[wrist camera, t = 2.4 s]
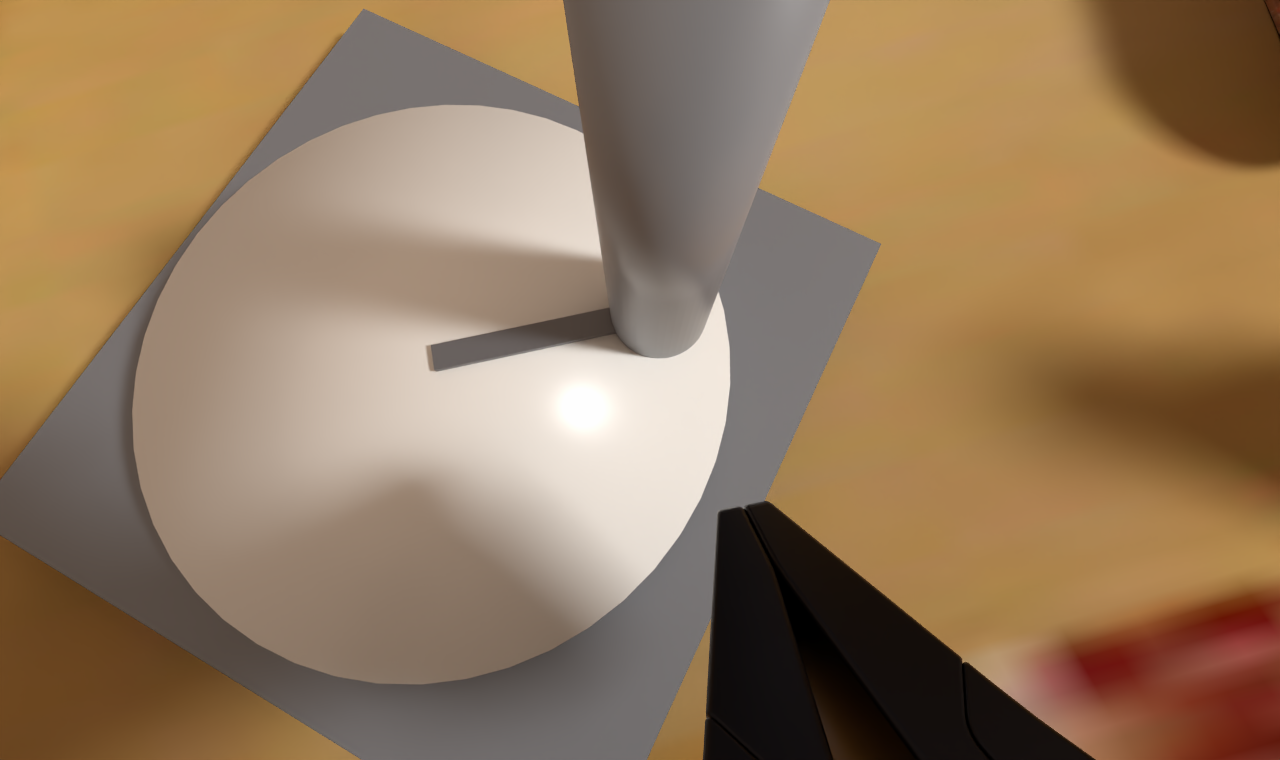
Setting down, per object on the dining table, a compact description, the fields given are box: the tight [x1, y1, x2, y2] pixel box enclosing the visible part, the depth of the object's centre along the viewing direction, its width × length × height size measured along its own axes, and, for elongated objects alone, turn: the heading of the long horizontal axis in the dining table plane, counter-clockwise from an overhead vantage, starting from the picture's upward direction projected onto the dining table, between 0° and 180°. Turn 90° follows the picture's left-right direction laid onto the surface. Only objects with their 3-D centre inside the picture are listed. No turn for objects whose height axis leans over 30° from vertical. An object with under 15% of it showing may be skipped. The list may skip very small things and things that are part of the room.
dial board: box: [0, 9, 881, 760], centre depth 19 cm, size 22×22×2 cm
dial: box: [132, 0, 830, 684], centre depth 11 cm, size 18×18×14 cm
